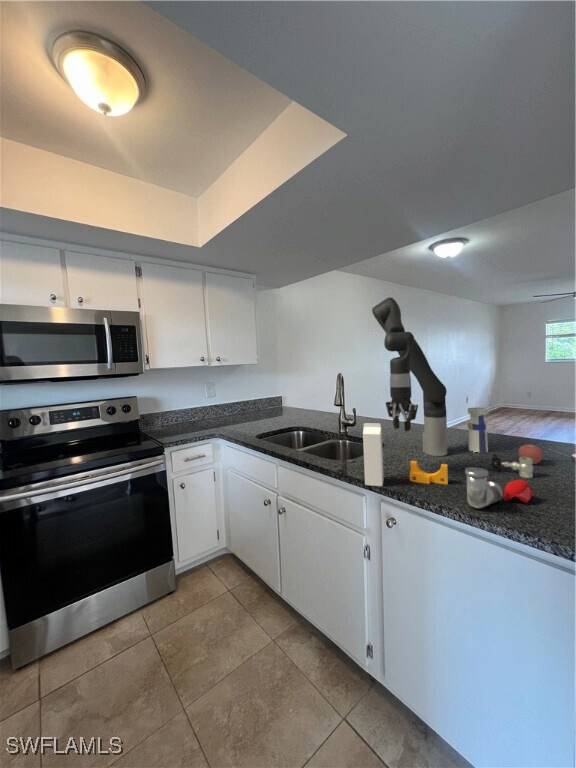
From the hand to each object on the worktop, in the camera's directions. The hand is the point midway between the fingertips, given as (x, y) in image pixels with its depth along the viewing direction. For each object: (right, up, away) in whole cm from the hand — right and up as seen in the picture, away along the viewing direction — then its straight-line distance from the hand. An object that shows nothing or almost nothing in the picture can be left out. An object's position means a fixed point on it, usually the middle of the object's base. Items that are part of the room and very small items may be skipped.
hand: (401, 429), depth 119 cm
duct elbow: (+14, -19, -27) cm, 36 cm away
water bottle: (+43, -13, +22) cm, 50 cm away
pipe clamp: (+7, -18, -8) cm, 21 cm away
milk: (-12, -19, -6) cm, 23 cm away
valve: (+39, -16, -5) cm, 42 cm away
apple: (+52, -14, +3) cm, 54 cm away
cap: (+26, -18, -25) cm, 40 cm away
